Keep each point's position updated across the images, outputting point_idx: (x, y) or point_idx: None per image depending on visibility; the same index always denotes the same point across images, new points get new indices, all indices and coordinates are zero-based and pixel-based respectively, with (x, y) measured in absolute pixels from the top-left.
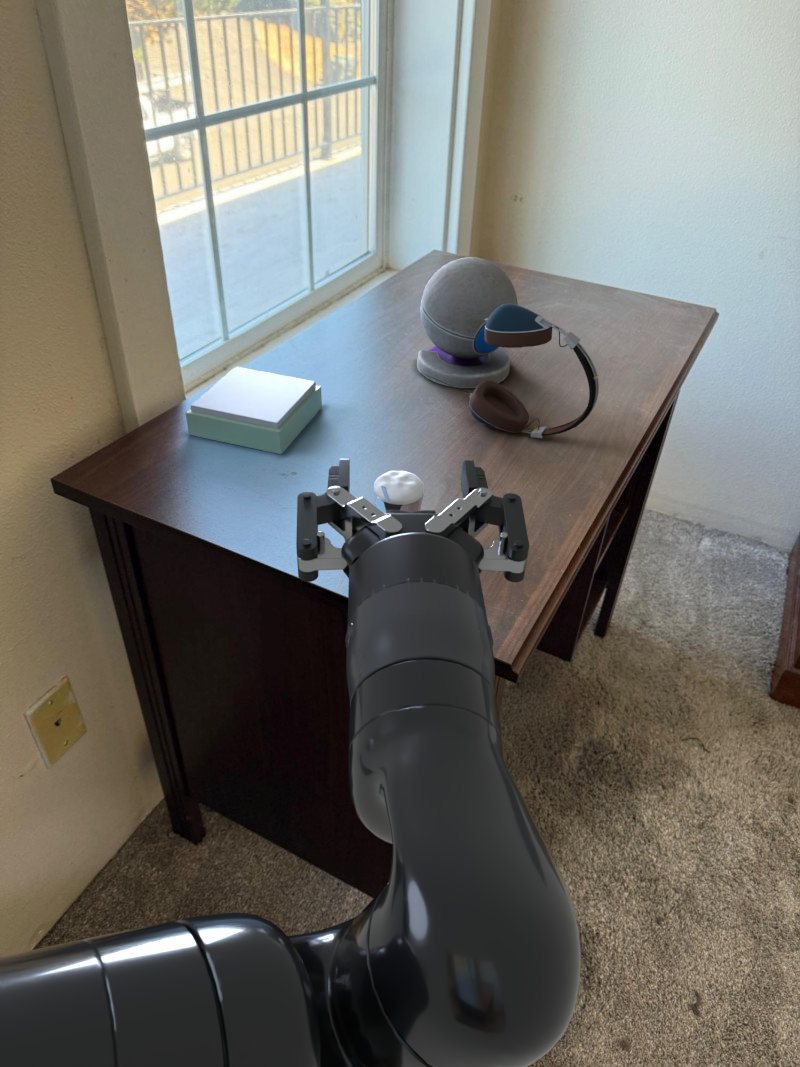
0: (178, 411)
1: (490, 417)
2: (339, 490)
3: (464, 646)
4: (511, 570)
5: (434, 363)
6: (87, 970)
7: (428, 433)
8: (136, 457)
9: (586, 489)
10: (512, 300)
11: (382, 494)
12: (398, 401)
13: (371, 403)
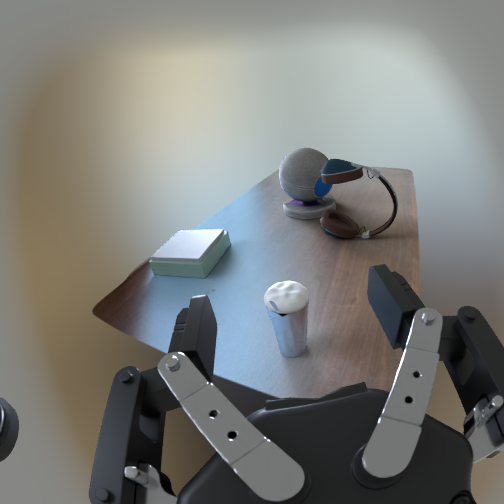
0: None
1: (336, 230)
2: (176, 363)
3: None
4: (499, 449)
5: (293, 207)
6: None
7: (299, 247)
8: (125, 293)
9: (407, 265)
10: None
11: (272, 306)
12: (276, 232)
13: (260, 236)
